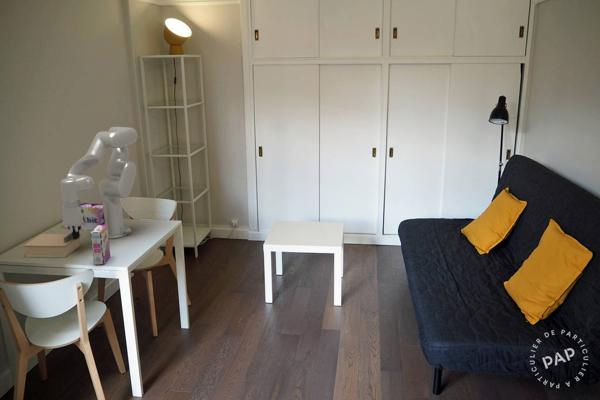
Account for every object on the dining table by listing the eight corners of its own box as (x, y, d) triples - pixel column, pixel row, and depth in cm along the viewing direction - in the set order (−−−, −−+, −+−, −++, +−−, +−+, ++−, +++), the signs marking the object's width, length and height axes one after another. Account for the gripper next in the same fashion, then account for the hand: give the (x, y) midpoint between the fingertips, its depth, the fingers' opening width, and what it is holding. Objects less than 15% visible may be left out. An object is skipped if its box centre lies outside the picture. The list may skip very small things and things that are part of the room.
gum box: (109, 226, 295) (106, 204, 291) (101, 231, 287) (98, 208, 283) (72, 224, 299) (69, 201, 296) (64, 228, 292) (60, 205, 288)
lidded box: (80, 245, 266) (79, 236, 264) (66, 257, 250) (64, 247, 249) (43, 244, 267) (42, 235, 265) (26, 256, 251) (24, 247, 250)
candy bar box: (104, 265, 241) (100, 232, 236) (93, 265, 240) (89, 232, 236) (111, 256, 251) (107, 224, 247) (100, 256, 251) (96, 224, 246)
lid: (80, 235, 265) (79, 229, 264) (65, 247, 249) (64, 241, 248) (41, 235, 266) (40, 229, 265) (23, 247, 250) (22, 240, 249)
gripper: (89, 201, 254) (94, 236, 259) (60, 201, 255) (65, 235, 260) (83, 205, 247) (87, 241, 252) (53, 205, 248) (58, 241, 253)
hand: (76, 238), depth 256 cm, fingers closed
